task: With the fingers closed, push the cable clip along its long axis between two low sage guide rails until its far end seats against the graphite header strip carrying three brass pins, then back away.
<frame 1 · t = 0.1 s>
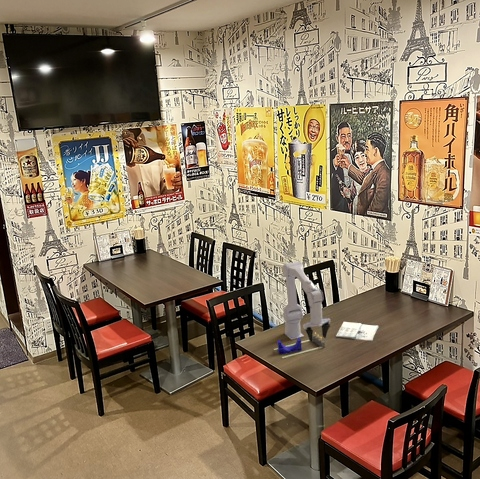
hand: (317, 338, 248), 10 cm above the table, fingers open, 7 cm apart
open book: (357, 333, 273), on the table
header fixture: (307, 346, 262), on the table
cable clip: (290, 351, 259), resting in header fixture
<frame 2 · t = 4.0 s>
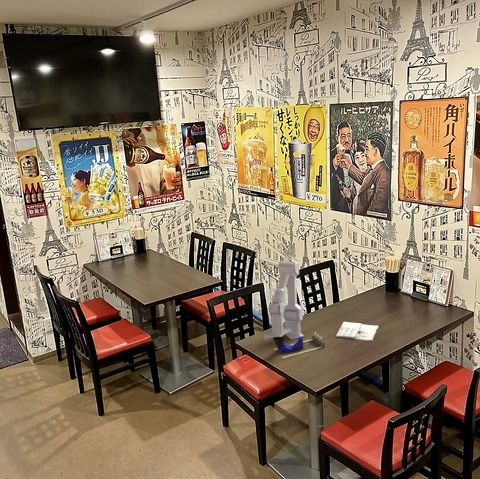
hand: (279, 348, 256), 3 cm above the table, fingers closed
cable clip: (291, 350, 260), resting in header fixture, touching gripper
everything else where it was.
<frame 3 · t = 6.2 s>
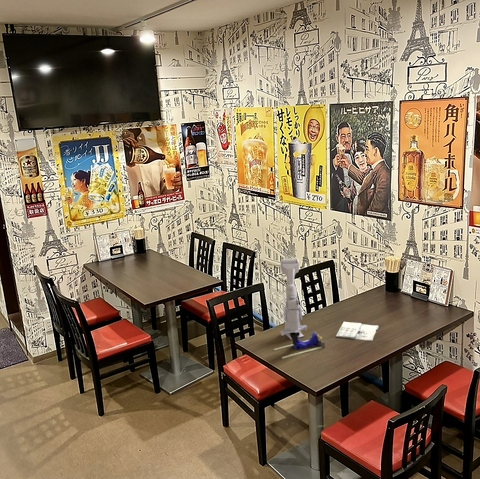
hand: (294, 344, 259), 3 cm above the table, fingers closed, pressing on cable clip
cable clip: (306, 346, 263), resting in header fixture, touching gripper
everything else where it was.
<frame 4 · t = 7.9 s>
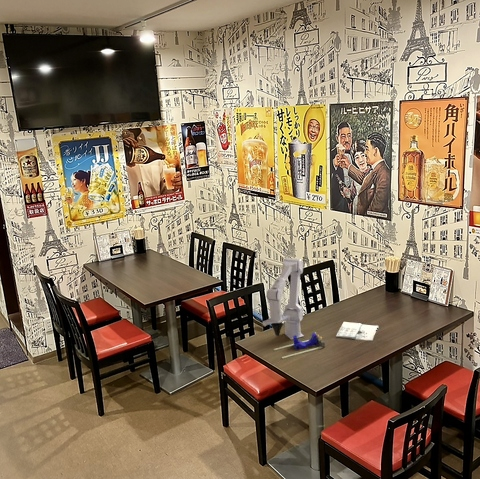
hand: (277, 335, 257), 9 cm above the table, fingers closed
cable clip: (305, 346, 263), resting in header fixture
everything else where it was.
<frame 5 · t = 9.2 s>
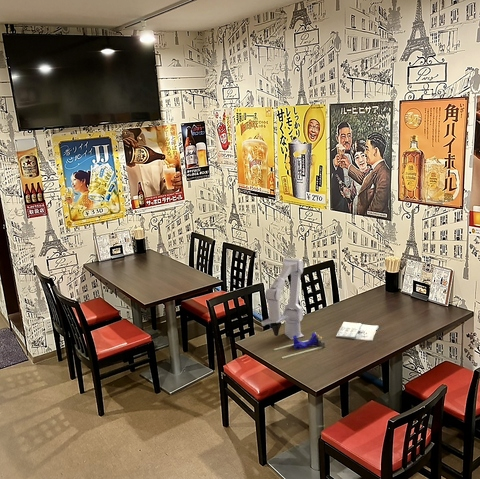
hand: (276, 335, 257), 9 cm above the table, fingers closed
cable clip: (305, 346, 263), resting in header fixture
everything else where it was.
at the end: cable clip inside the target area (0.8 cm from its centre), resting in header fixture; cable clip tilted 0°; cable clip moved 9.7 cm from its start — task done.
